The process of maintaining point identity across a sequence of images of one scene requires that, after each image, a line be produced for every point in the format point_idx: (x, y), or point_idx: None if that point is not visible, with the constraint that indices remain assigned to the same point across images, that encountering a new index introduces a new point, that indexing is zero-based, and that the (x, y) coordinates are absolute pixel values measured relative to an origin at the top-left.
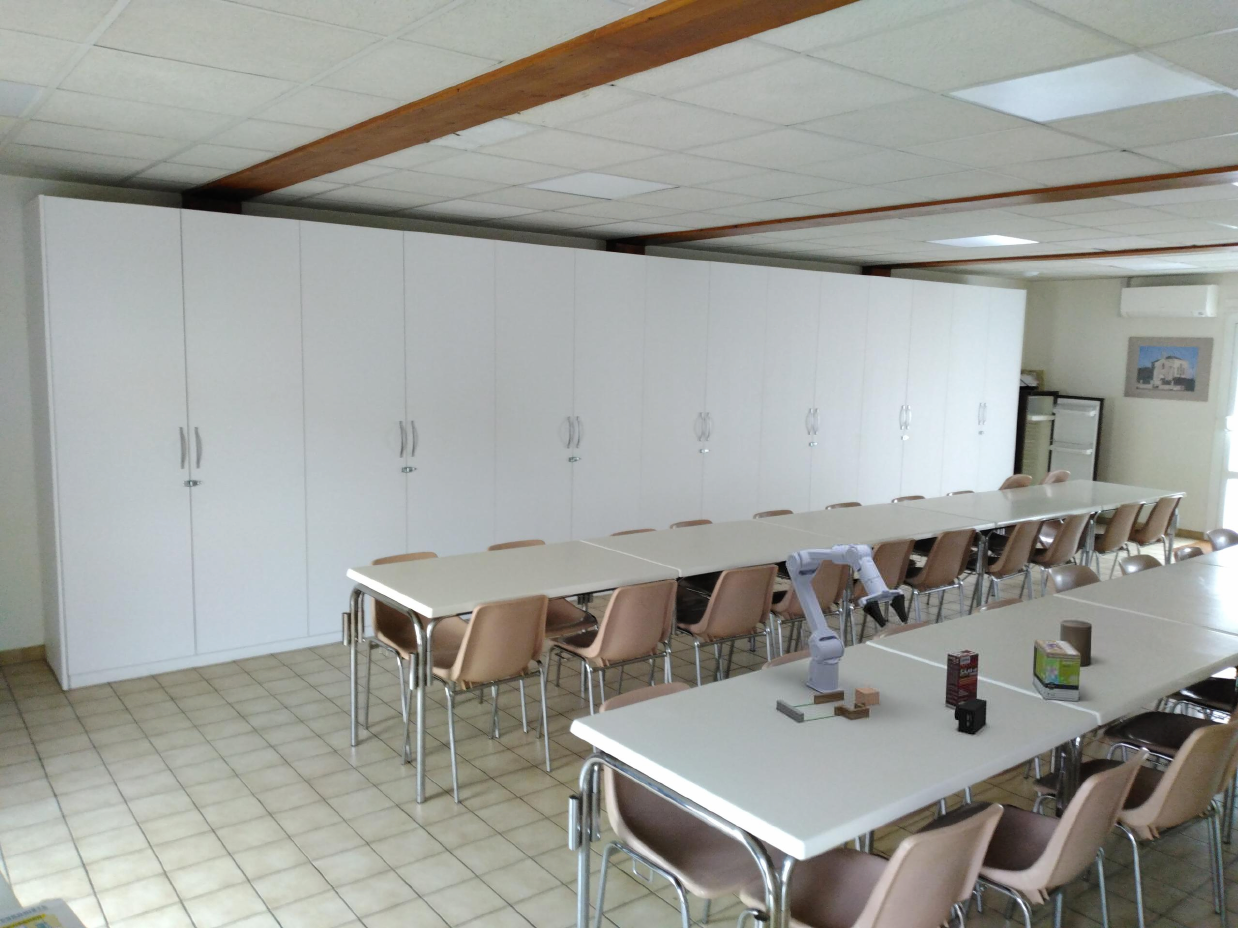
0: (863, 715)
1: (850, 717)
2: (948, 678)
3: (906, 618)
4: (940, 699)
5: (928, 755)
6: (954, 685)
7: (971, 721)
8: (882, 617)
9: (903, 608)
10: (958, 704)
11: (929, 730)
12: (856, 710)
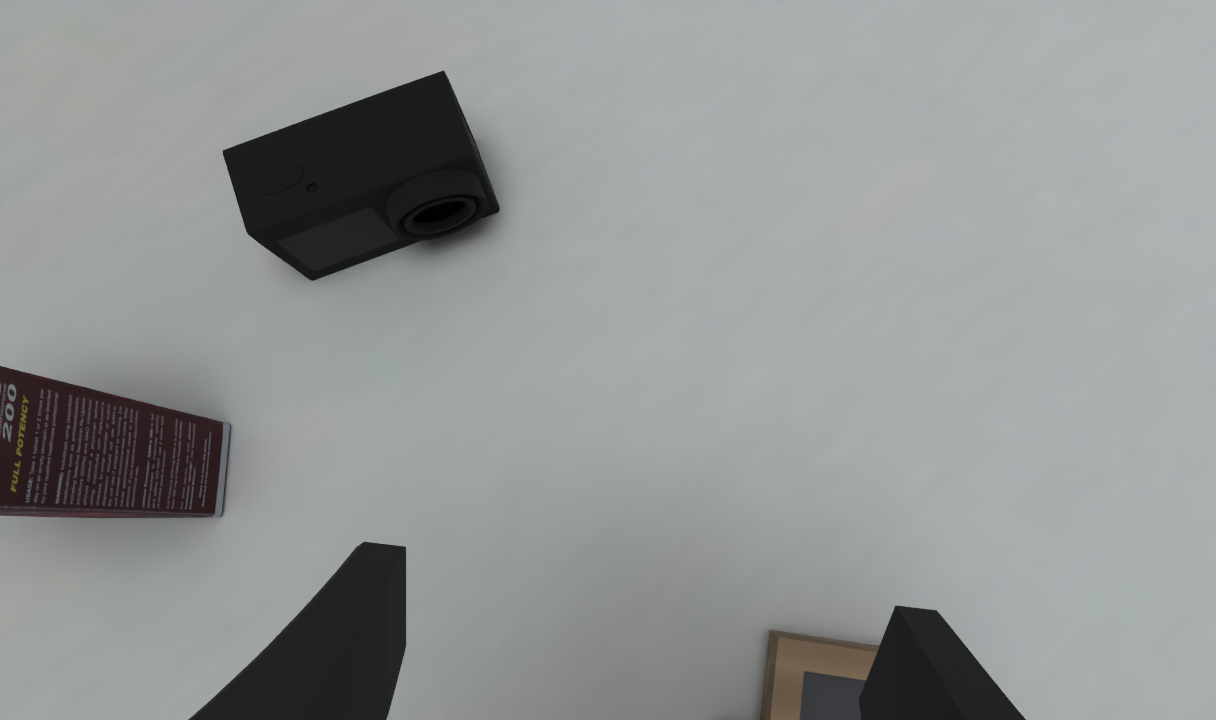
0: (817, 638)
1: None
2: (116, 490)
3: (381, 551)
4: (149, 612)
5: (887, 75)
6: (145, 435)
7: (463, 117)
8: (989, 708)
9: (270, 704)
10: (426, 194)
11: (623, 293)
12: None
